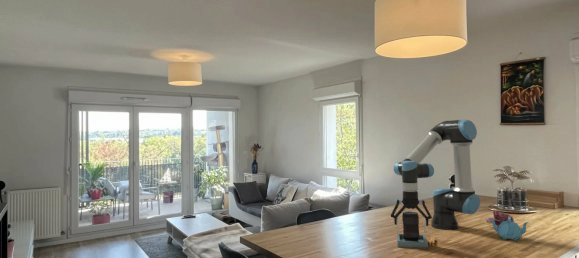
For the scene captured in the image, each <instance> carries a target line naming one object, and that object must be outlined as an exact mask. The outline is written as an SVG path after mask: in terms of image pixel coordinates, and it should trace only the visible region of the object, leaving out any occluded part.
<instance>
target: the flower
mask: <svg viewBox="0 0 579 258" xmlns="http://www.w3.org/2000/svg"><path fill="white" fill-rule="evenodd" d="M492 214H493V217H488V218H485V221H486V223H489V224H493V223H492V221H491V220H494V221H495V224H496V226H497V227H499V225H500V224H501V222H503V221H507V220H508V218H509V217H510V218H511V220H512V221H511V222H515V221H514V218H513V216H512V215H511V214H509V213H505V212H503V211H499V210H495V209H494V210H493V212H492ZM490 219H491V220H490Z"/></svg>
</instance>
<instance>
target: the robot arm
mask: <svg viewBox="0 0 579 258" xmlns="http://www.w3.org/2000/svg"><path fill="white" fill-rule="evenodd" d="M477 134H478V131H477V127H476V125H475V123H474V122H473V121H472V120H469V119H455V120H443V121H441V122H439V123H437V124H436V125H434V126H433V127H432V128H431V129H430V130H429V131H428V132H427V134H426V137H424V139H422V141H420V143H419V144H418V145H417V146H416V147H415V148H414V149H413V150H412V151H411V152H410V153H409V154H408V155H407V156H406V157H405V158H404V159H403V160H402V161H399V162H396V163H395V164H394V165H393V172H394V174H395V175H396V176H397V175H398V176H401V177H402V178H401V179H402V183H401V184H402V199H399V198H397V199H396V204H395V206H394V207H393V210H392V212H391V214H390V217H391V218H393V220H394V222H393V223H394V225H396V232H399V230H400V229H399V216H400V215H402V214H403V212H404V211H405V209H407V210H410V209H412V210H414V209H416V210H417V211H418V212H419V213H420V214H421V216H422V217H423V226H424V227H423V231H424V233H425V234H427V227H428V226H429V220H430V219H431V222H430V225H431V227H432V228H435V229H441V230H455V229H458V228H459V223H458V220H457V217H456V214H455V213H460V214H465V215H474V214H476V213H477V212H478V210H479V208H480V206H481V199H480V197H479V195H478V194H476V190H475V189H474V188H473V187H472V168H471V167H472V166H471V164H472V163H471V162H472V161H471V145H472V144H473V140H475V139H476V137H477ZM445 141H450V142H449V143H450V144H451V145H452V146H453V147H452V148H453V165H454V167H453V168H454V184H455V185H454V187H453V188H437V189H434V190H433V191H432V192H433V193H432V195H433V196H432V199H433V214H432V215H431V213H430V211H429V209H428V207H427V206H426V204H425V203H426V202H425V200H424V199H421V200H419V192H418V189H419V188H418V187H419V186H418V184H419V183H418V179H425V178H426V179H428V178H431V177H433V176H434V174H435V168H434V165H432V164H431V163H426V162H425V163H422V162H423V160H424V159H425V158H426V157H427V156H428V155H429V154H430V152H431V151H433V149H434V148H435V147H436V146H438V145H440V144H442V143H443V142H445ZM401 203H402V204H403V205H402V207H400V209H399V210H398V211H397V209H398V208H399V205H401ZM419 204H420V205H422V207H423V209H424V210H425V212H426V214H427V215H426V214H425V213H424V211H423V210H422V209H421V208H420V207H419V206H418V205H419Z"/></svg>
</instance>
